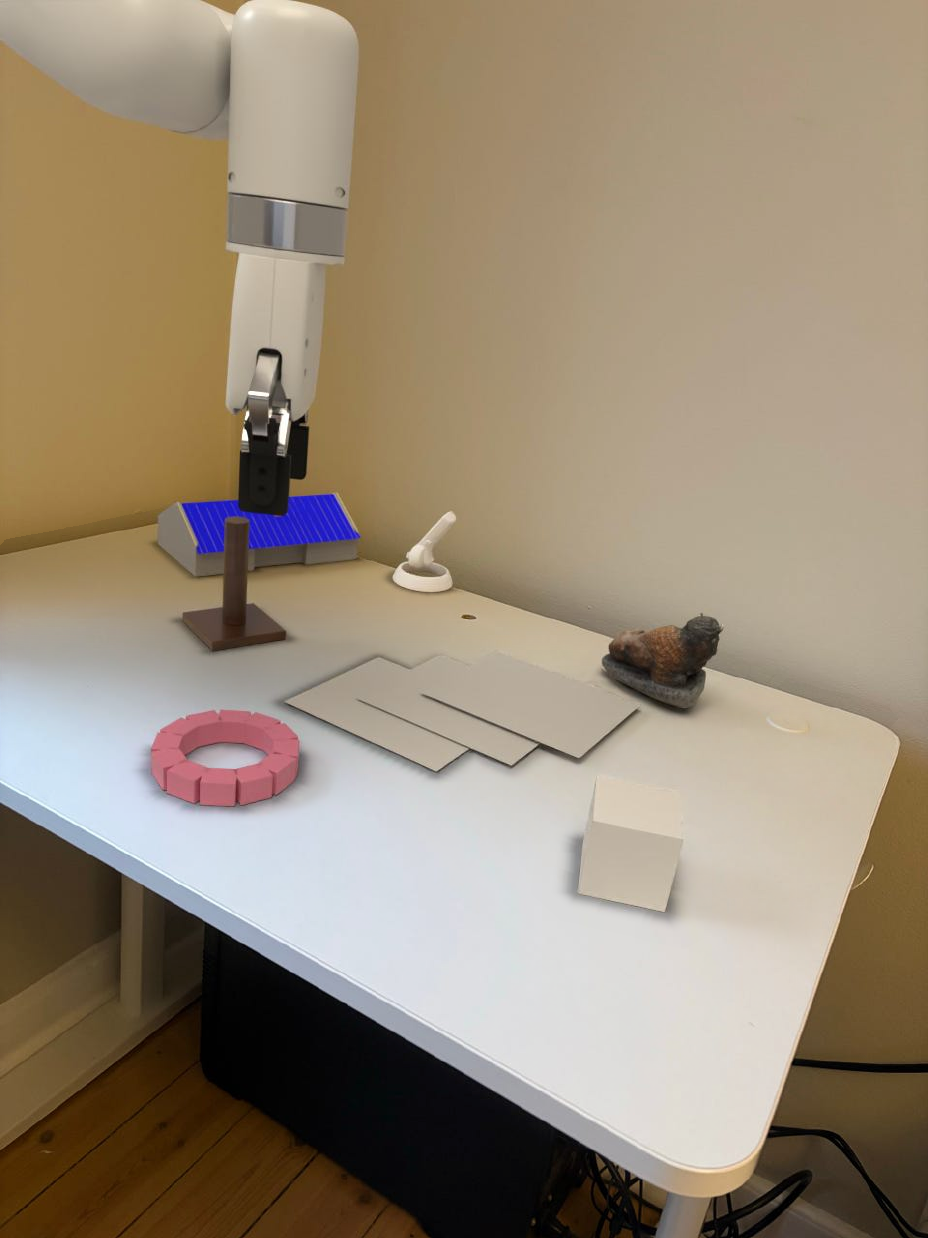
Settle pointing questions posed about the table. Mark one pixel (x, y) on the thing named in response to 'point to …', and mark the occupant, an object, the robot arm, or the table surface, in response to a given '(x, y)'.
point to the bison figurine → (665, 659)
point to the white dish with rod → (426, 561)
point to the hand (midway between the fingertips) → (274, 493)
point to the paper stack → (466, 708)
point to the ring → (222, 782)
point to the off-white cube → (631, 843)
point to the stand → (234, 600)
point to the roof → (259, 533)
